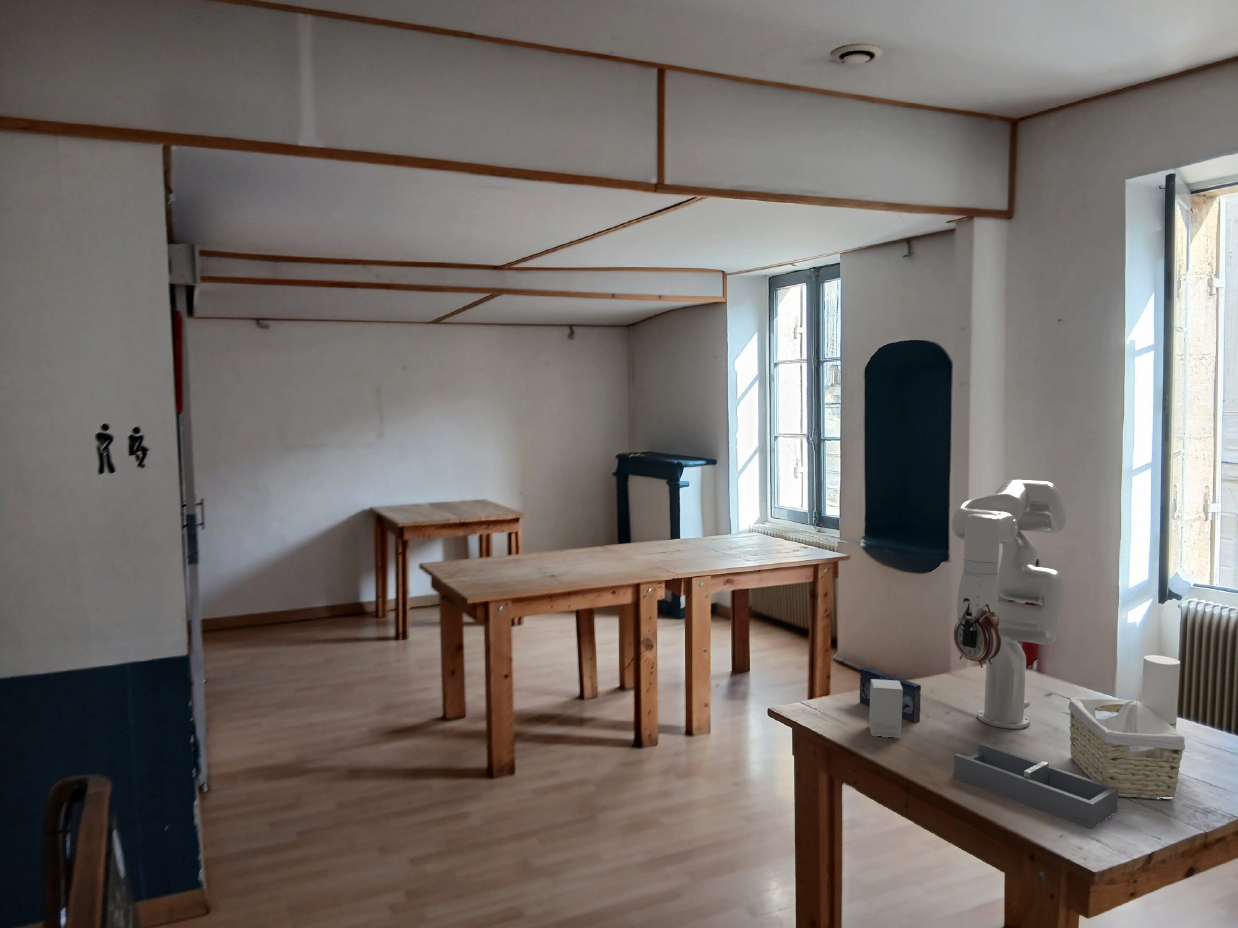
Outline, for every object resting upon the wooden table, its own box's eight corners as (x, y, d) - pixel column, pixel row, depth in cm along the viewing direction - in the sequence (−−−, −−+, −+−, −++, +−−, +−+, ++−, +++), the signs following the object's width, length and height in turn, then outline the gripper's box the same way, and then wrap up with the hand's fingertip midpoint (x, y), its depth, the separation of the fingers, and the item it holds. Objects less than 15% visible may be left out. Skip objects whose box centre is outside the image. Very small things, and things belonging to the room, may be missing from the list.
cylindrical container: (1169, 760, 208) (1175, 656, 206) (1177, 772, 201) (1183, 665, 199) (1134, 756, 210) (1140, 653, 208) (1141, 768, 204) (1147, 662, 202)
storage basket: (1063, 754, 212) (1066, 694, 210) (1136, 759, 209) (1139, 698, 208) (1102, 799, 188) (1106, 732, 187) (1184, 805, 186) (1189, 737, 184)
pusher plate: (1042, 783, 193) (1043, 761, 192) (1047, 785, 192) (1048, 762, 191) (1023, 793, 188) (1024, 770, 187) (1028, 795, 187) (1029, 772, 186)
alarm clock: (950, 657, 209) (953, 595, 208) (966, 655, 211) (969, 593, 210) (986, 670, 199) (989, 605, 198) (1002, 668, 201) (1005, 603, 200)
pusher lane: (981, 763, 206) (982, 742, 206) (1117, 811, 182) (1118, 788, 182) (952, 776, 199) (953, 754, 198) (1090, 828, 175) (1092, 804, 175)
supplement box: (901, 739, 220) (903, 689, 219) (870, 736, 221) (872, 687, 220) (898, 728, 227) (900, 680, 226) (868, 725, 229) (870, 677, 228)
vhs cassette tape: (858, 703, 246) (859, 668, 245) (866, 701, 247) (867, 666, 246) (913, 724, 230) (914, 687, 229) (920, 722, 232) (921, 685, 231)
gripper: (986, 561, 212) (983, 636, 213) (944, 568, 202) (940, 646, 203) (1016, 566, 206) (1012, 643, 207) (974, 573, 196) (970, 654, 197)
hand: (977, 643), depth 205 cm, fingers closed on alarm clock, 5 cm apart
